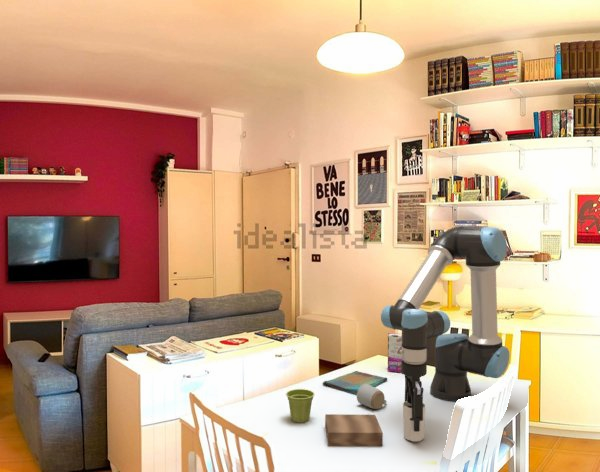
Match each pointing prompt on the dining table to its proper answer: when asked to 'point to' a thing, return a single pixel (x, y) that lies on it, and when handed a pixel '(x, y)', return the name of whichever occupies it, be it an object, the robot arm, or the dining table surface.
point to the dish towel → (354, 382)
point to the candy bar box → (394, 352)
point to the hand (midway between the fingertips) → (413, 435)
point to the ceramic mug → (370, 396)
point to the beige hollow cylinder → (407, 423)
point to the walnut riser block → (353, 430)
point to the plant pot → (300, 404)
